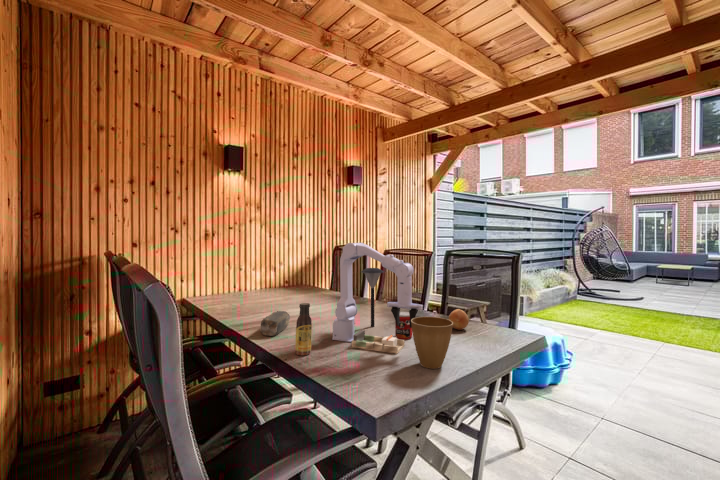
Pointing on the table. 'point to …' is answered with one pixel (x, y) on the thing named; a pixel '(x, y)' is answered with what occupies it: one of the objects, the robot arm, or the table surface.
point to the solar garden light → (372, 286)
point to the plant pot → (431, 340)
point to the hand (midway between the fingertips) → (404, 326)
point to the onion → (459, 319)
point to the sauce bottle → (303, 331)
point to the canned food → (403, 327)
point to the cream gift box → (389, 340)
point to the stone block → (275, 323)
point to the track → (375, 343)
